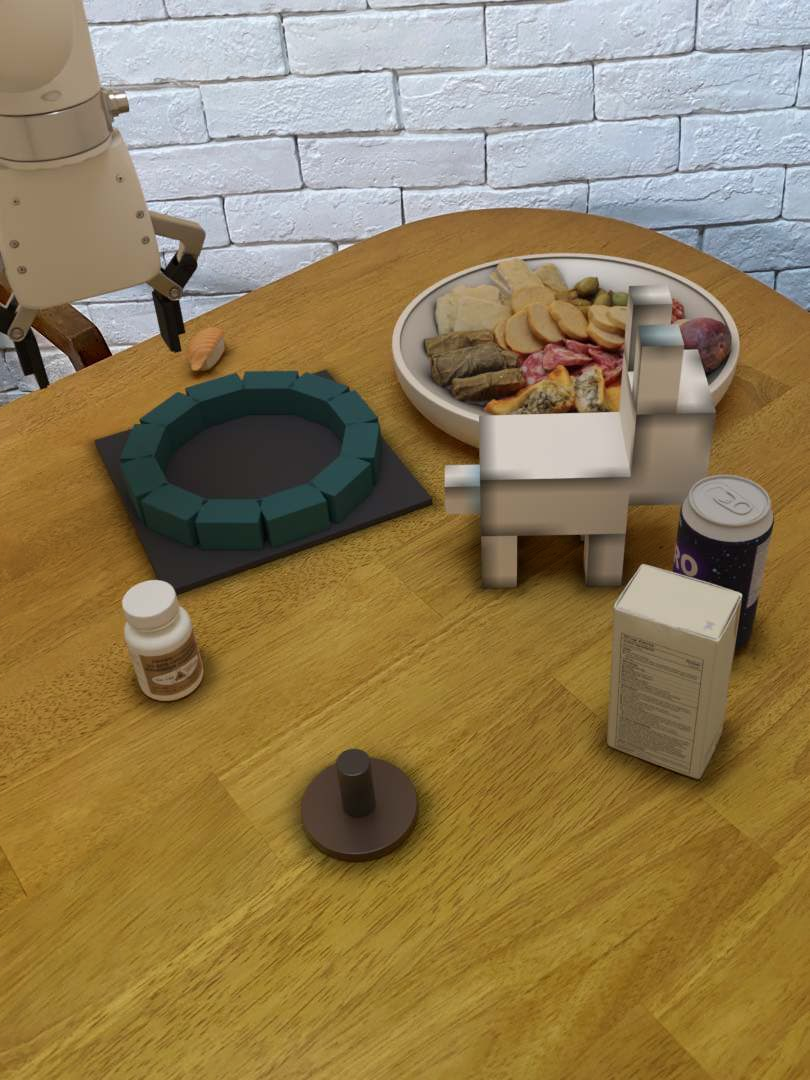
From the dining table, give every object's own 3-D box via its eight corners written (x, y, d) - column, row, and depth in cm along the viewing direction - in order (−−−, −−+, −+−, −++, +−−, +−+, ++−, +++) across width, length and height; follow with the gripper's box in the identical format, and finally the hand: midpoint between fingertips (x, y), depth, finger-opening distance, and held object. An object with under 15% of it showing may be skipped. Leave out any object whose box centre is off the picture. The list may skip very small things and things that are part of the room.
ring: (172, 584, 84) (164, 556, 82) (102, 441, 98) (95, 414, 96) (422, 496, 90) (421, 468, 88) (322, 373, 104) (319, 347, 102)
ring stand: (329, 880, 65) (319, 831, 62) (285, 791, 70) (274, 742, 66) (437, 831, 67) (434, 782, 64) (388, 748, 72) (382, 699, 68)
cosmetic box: (723, 733, 71) (750, 593, 63) (699, 783, 68) (725, 643, 60) (626, 697, 74) (641, 558, 66) (600, 744, 71) (612, 605, 63)
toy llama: (448, 522, 88) (438, 292, 75) (676, 517, 87) (706, 283, 74) (447, 588, 82) (436, 353, 69) (691, 584, 81) (726, 344, 68)
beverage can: (701, 593, 80) (722, 459, 73) (767, 636, 77) (796, 499, 69) (647, 632, 78) (663, 497, 70) (713, 678, 74) (737, 541, 67)
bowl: (348, 453, 96) (338, 374, 90) (449, 284, 117) (446, 212, 112) (709, 508, 87) (722, 425, 82) (748, 315, 108) (760, 239, 103)
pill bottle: (160, 714, 75) (135, 632, 70) (128, 677, 78) (102, 596, 73) (216, 680, 77) (196, 598, 72) (183, 645, 80) (161, 564, 75)
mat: (167, 598, 83) (165, 592, 83) (95, 445, 99) (94, 439, 98) (433, 504, 90) (432, 498, 89) (326, 374, 105) (326, 369, 105)
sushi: (232, 345, 110) (227, 318, 108) (209, 381, 106) (204, 353, 104) (207, 343, 111) (201, 316, 109) (183, 378, 106) (177, 351, 104)
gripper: (163, 82, 76) (205, 310, 87) (-103, 135, 71) (-23, 370, 82) (197, 115, 71) (237, 353, 82) (-88, 174, 66) (-4, 420, 77)
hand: (107, 361), depth 82 cm, fingers open, 9 cm apart
